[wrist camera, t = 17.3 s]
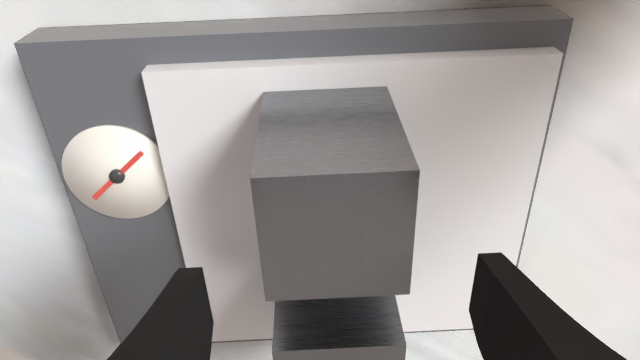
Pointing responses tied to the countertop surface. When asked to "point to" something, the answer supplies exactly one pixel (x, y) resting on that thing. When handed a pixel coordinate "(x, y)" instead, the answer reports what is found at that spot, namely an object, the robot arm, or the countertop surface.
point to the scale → (241, 131)
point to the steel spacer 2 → (338, 329)
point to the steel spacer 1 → (333, 195)
